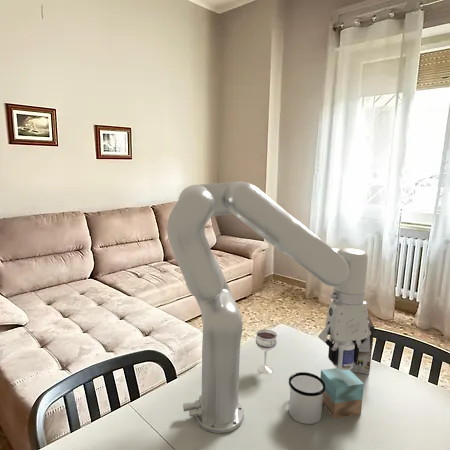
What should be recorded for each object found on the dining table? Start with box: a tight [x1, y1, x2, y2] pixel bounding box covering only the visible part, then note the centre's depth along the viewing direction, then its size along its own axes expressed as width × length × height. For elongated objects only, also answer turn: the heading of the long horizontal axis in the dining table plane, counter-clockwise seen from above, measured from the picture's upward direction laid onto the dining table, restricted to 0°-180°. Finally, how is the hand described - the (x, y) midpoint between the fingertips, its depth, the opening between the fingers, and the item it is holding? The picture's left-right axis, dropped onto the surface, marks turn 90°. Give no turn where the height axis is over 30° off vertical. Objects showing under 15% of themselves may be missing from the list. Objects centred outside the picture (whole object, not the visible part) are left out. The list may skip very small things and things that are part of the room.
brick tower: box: [319, 367, 365, 419], centre depth 95 cm, size 8×8×9 cm
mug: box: [288, 371, 326, 425], centre depth 93 cm, size 12×9×9 cm
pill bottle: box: [332, 341, 355, 370], centre depth 93 cm, size 5×5×9 cm
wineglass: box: [255, 329, 278, 374], centre depth 112 cm, size 7×7×12 cm
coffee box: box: [350, 315, 375, 375], centre depth 115 cm, size 9×6×16 cm
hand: (342, 360), depth 93 cm, fingers closed on pill bottle, 5 cm apart
